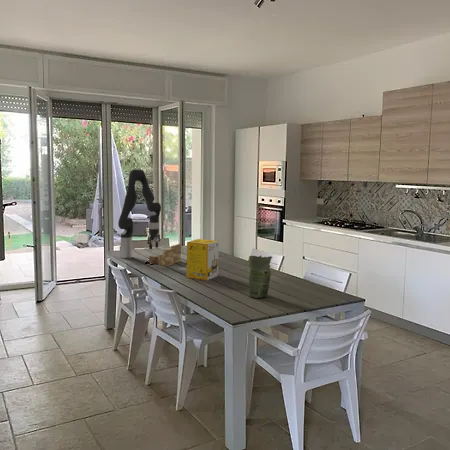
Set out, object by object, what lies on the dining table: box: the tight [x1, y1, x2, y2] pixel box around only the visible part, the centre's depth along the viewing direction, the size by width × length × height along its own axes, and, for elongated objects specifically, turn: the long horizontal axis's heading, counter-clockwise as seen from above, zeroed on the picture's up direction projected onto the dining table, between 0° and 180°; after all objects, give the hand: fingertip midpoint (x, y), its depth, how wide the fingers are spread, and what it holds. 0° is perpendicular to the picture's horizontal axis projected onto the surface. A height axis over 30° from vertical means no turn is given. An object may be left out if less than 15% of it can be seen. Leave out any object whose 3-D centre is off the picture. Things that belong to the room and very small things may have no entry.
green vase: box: [248, 255, 273, 299], centre depth 275 cm, size 11×12×25 cm
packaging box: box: [186, 238, 220, 281], centre depth 321 cm, size 16×16×25 cm
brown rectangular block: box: [148, 255, 159, 265], centre depth 362 cm, size 13×4×6 cm, turn 66°
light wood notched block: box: [157, 243, 182, 267], centre depth 364 cm, size 8×21×14 cm, turn 156°
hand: (153, 248), depth 363 cm, fingers open, 8 cm apart
